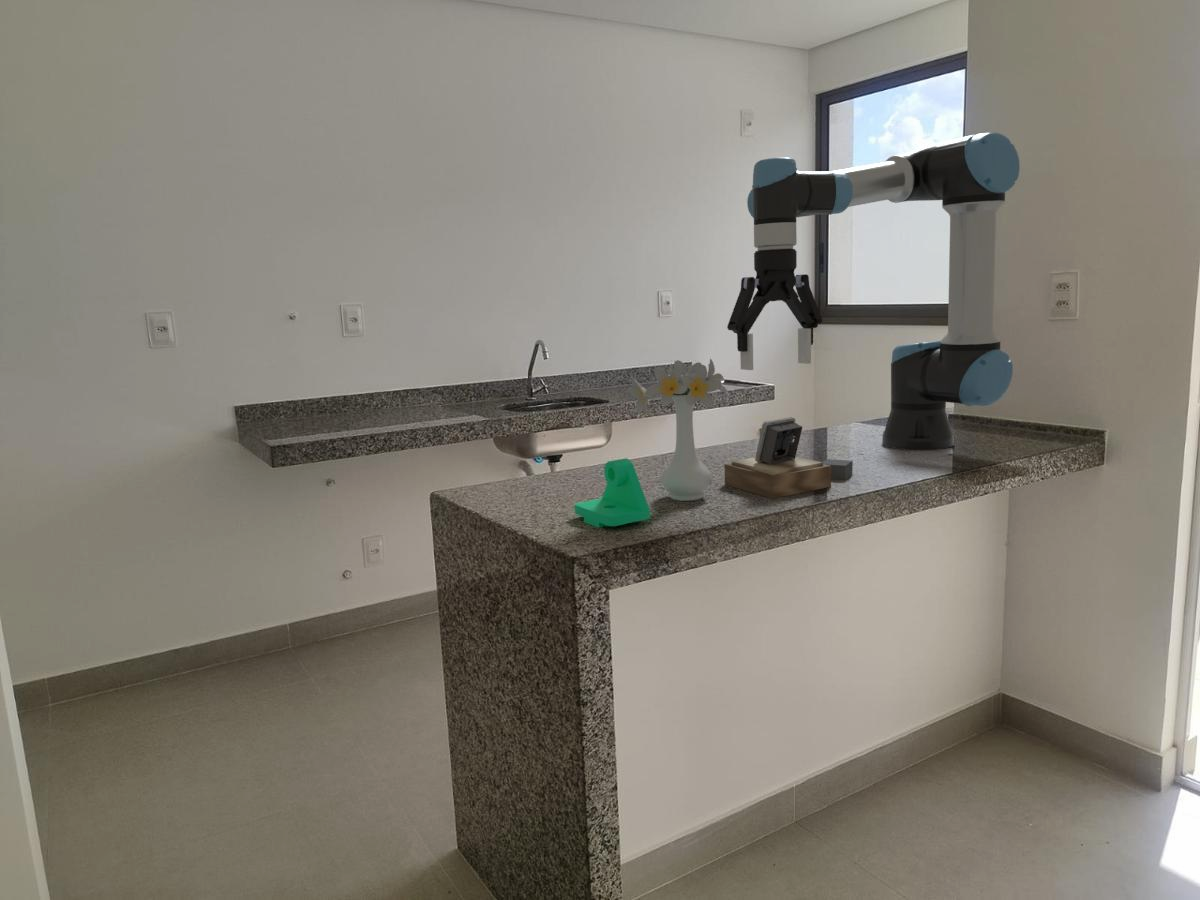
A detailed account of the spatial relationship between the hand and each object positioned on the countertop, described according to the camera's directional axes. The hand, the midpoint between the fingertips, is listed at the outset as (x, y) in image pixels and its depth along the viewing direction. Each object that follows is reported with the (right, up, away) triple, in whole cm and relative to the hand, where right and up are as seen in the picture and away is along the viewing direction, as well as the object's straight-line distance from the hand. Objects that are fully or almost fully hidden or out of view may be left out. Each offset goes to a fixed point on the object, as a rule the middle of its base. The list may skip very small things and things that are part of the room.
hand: (776, 366), depth 159 cm
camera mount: (-31, -28, -15) cm, 44 cm away
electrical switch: (+1, -18, +4) cm, 18 cm away
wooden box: (+1, -22, +4) cm, 23 cm away
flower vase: (-17, -24, -2) cm, 30 cm away
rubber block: (+14, -21, +10) cm, 27 cm away
